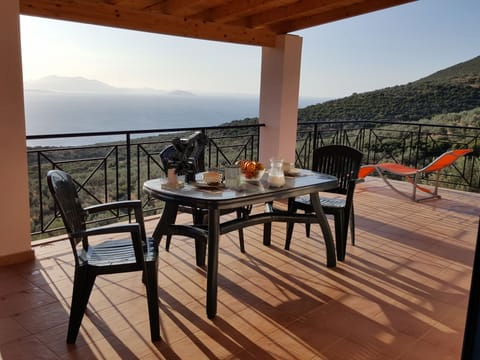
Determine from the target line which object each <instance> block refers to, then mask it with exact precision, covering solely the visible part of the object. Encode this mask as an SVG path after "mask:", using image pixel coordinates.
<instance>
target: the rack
mask: <svg viewBox="0 0 480 360" xmlns="http://www.w3.org/2000/svg"><path fill="white" fill-rule="evenodd" d="M184 187H185V181H180V180H179V181H178V183H176V184H168V181H165V182H162V183H161V184H160V189H164V190H173V191H176V190H178V189H182V188H184Z"/></svg>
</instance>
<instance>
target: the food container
mask: <svg viewBox="0 0 480 360" xmlns="http://www.w3.org/2000/svg"><path fill="white" fill-rule="evenodd" d="M207 171H208V173H209V172H214V173H219V174H222V181H221V183H222V184H221V185H223V184H224V182H225V168H224V167H219V166H218V167H217V166H216V167H215V166H213V167H208V170H207Z"/></svg>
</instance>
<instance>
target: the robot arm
mask: <svg viewBox="0 0 480 360" xmlns="http://www.w3.org/2000/svg"><path fill="white" fill-rule="evenodd" d="M210 141H211V140H210V137H209V136H208V135H207V134H205V133H203V132H202V131H194V133H192V134H191V135H189V136H188V137H183V138H181V137H180V136H176V138H174V139H172V140H171V144H172V147H173V148H174V149H175V150H176V151H169V158H171V160H170V159H169V158H164V157H163V158H162V160H161V162H162V164H163V166H164V167H167V168H168V169H172V168H173V169H174V165H175V166H176V168H175V169H176V170H175V172H174V175H175V174H177V175H178V173H179V172H181V171H183V173H185V174H184V181H183V182H187V183H192V182H193V183H194V182H195V181H196V182H197V178H196V174H198V170H199V169H198V167H197V160H198V159H199V157H200V155H201V153H202V151H203V149H204V148H205V147H207V146H208V145H209V143H210ZM194 142H196V145H195V147H194V149H193V151H192V152H191V154H190V156H189V157H188V158H187V157H186V158H185V155H186V154H188V153H189V152H188V148H189V149H190V148H191V147H192V146H193V143H194ZM168 169H167V170H168ZM196 182H195V183H196Z"/></svg>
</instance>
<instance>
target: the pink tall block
mask: <svg viewBox="0 0 480 360" xmlns="http://www.w3.org/2000/svg"><path fill="white" fill-rule="evenodd" d="M175 170H176V168H174V167H173V168H172V169H167V182H168V184H176V183H178V173H177V174H175V175H174V172H175Z"/></svg>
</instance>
